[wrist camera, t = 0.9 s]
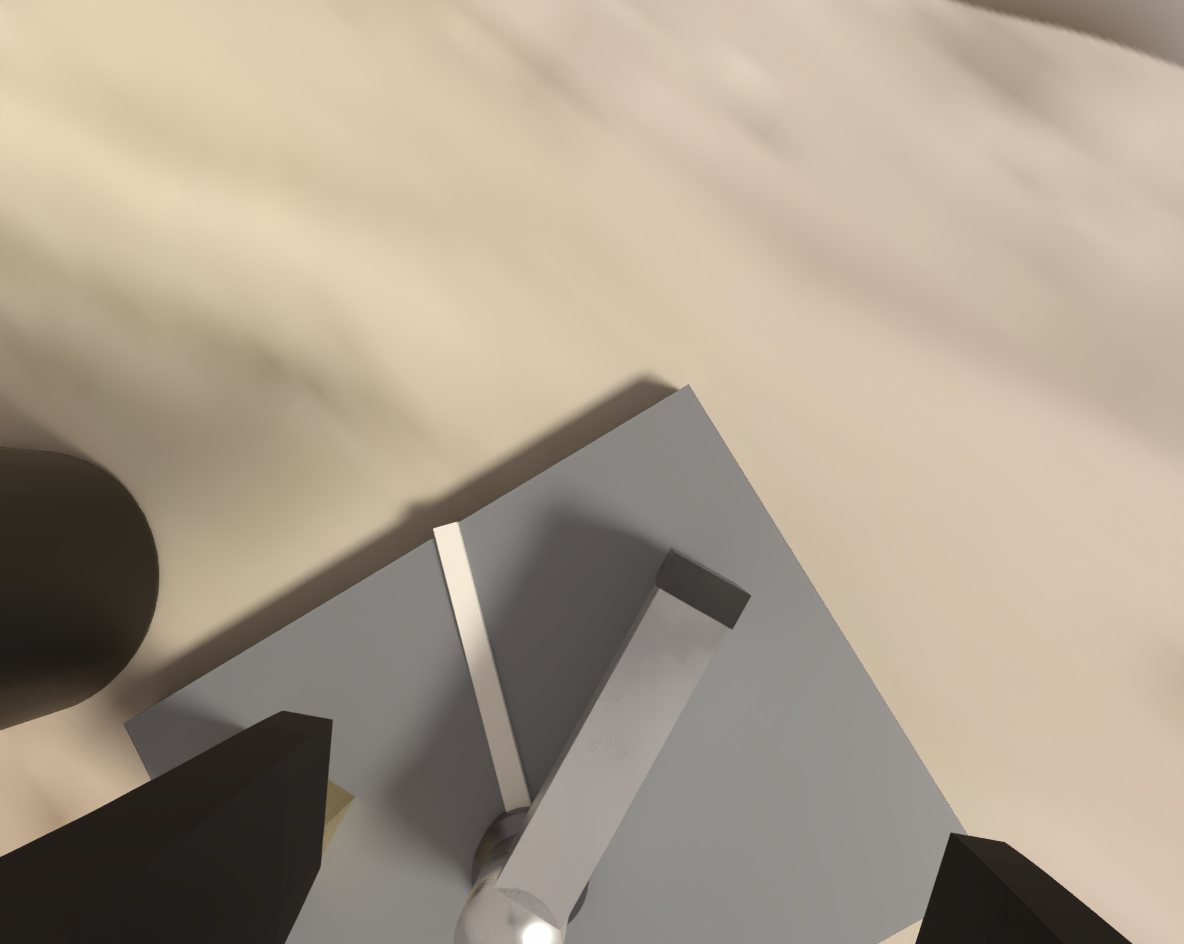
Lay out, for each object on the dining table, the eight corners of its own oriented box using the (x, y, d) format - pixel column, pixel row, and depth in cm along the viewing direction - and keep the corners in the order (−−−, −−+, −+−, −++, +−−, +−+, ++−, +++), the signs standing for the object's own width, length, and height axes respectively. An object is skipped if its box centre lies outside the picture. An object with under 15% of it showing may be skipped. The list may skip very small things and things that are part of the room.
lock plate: (970, 853, 22) (997, 881, 20) (390, 1179, 23) (369, 1232, 21) (682, 386, 23) (685, 377, 22) (152, 705, 24) (115, 719, 23)
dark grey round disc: (612, 886, 21) (610, 900, 20) (513, 942, 21) (508, 959, 20) (554, 782, 22) (550, 792, 21) (457, 838, 22) (450, 850, 21)
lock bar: (546, 946, 20) (526, 1026, 17) (466, 894, 21) (432, 964, 17) (744, 588, 20) (762, 601, 17) (662, 542, 21) (664, 547, 18)
